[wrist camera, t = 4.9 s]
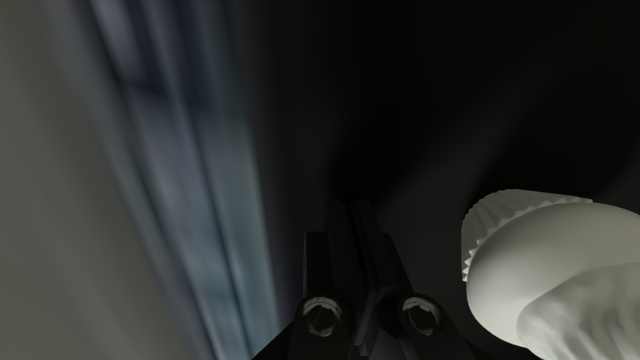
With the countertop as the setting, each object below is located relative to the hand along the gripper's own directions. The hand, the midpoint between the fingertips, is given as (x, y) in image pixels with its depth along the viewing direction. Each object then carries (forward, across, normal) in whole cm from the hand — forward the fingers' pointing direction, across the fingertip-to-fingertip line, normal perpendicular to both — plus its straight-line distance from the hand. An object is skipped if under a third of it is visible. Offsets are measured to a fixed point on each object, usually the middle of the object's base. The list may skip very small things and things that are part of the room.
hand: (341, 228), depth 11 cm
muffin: (+1, -7, 0) cm, 8 cm away
